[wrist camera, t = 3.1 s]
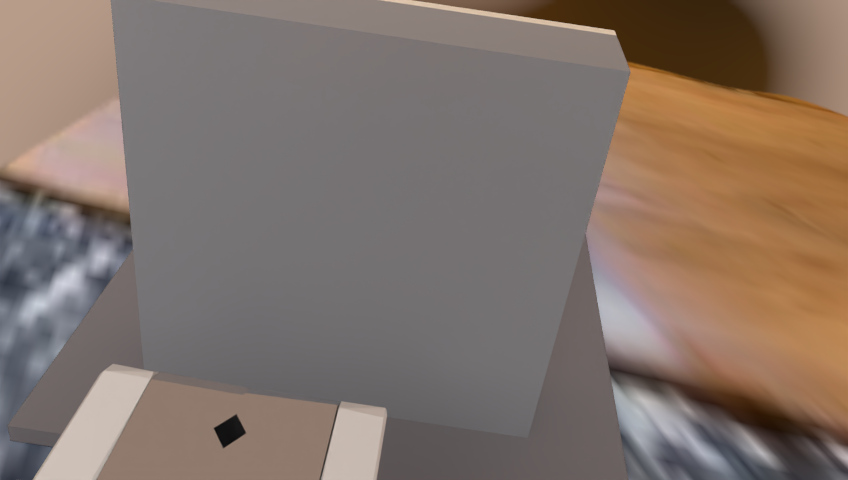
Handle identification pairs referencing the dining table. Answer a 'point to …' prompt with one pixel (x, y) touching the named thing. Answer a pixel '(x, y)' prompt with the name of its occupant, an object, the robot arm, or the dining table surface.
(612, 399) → the felt mat
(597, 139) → the glazed tile
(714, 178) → the dining table surface
